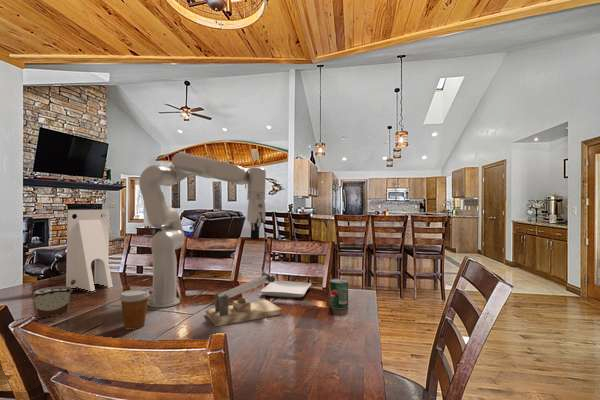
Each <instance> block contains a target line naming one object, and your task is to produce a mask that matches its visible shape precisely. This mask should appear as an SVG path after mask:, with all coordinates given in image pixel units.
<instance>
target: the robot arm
mask: <svg viewBox="0 0 600 400" xmlns="http://www.w3.org/2000/svg"><path fill="white" fill-rule="evenodd" d="M190 176H197V177H202V178H206V179H215V180H219V181H223V182H228V183H232V184H235V185H240V186H241V185H242V186H243V185H244V186H245V185H247V195H246V196H247V198H246V199H247V200H248V202H247V211H246V213H247V218H246V219H247V220H246V221H247V222H249V225H250V240H253V241H254V240H255V241H256V240H258V241H259V239H260V228H261V227H262V224H265V223H266V202H265V200H266V179H267V177H266V176H267V172H266V169H265V168H263V167H257V166H256V167H250V168H245V167H242V166H240V165H237V164H233V163H228V162H225V161H220V160H216V159H213V158H209V157H203V156H199V155H195V154H192V153H186V152H177V153H175V154H174V155H173V156H172V159H171V165H169V166H168V167H167V166H164V165H160V164H153V165H149V166H147V167H146V168H145V169H144V170H143V171H142V172H141V174H140V177H139V180H138V186H139V189H140V194H141V197H142V199H143V205H144V208H145V212H146V215H147V216H146V217H147V219H148V220H147V221H148V222H149V225H150V226H151V227H152V228H155V229H161V230H160V231H158V232H156V233H155V234H154V236H152V238H151V240H150V241H151V243H150V247H151V248H150V249H151V254H152V292H151V293H150V296H149V298H148V304H147V306H149V307H150V308H157V309H158V308H159V309H161V308H169V307H172V306H177V305H178V304H180V303H181V299H180V298H179V297H177V276H178V275H177V272H178V269H177V267H178V266H177V265H178V261H177V255H176V250H178V249H180V248H182V247H183V246H184V243H185V240H186V237H185V232H184V229H183V225H182V224H183V223H182V220H181V217H180V214H179V213H178V211H177V209H175V208H174V207H172V206H167V201H166V199H165V195H164V193H163V190H162V189H161V186H165V187H171V186H173V185H174V186H175V185H176V184H177V183H179V182H181V181H183V180H185V179H186V178H188V177H190Z"/></svg>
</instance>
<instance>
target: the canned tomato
mask: <svg viewBox="0 0 600 400" xmlns="http://www.w3.org/2000/svg"><path fill="white" fill-rule="evenodd" d="M329 307H330V308H332V309H335V310H345V309H348V308H349V280H348V279H346V278H331V279H329Z"/></svg>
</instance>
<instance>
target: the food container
mask: <svg viewBox="0 0 600 400" xmlns="http://www.w3.org/2000/svg"><path fill="white" fill-rule="evenodd" d="M71 293H73V289H71V287H68V286H66V285H65V286H63V285H61V286H50V287H44V288H40V289H37V290H35V291H34V292H33V294H32V298H34V302H35V311H36V319H37V318H38V317H44V316H51V315H55V314H60V313H66V312H69V305H70V298H71ZM51 317H52V316H51Z"/></svg>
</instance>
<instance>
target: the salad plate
mask: <svg viewBox="0 0 600 400" xmlns="http://www.w3.org/2000/svg"><path fill="white" fill-rule="evenodd" d="M311 286H312V282H301V281H285V280H275V281H274V282H273V283H272V282H269V283H268V284H267V285H266V286H264V287H263V288H262V289H261V290H260V292H261V294H263V295H265V296H269V297H280V298H293V299H297V298H302V297H304V296H305V294H306V292H307V290H308V289H309V288H310V287H311Z"/></svg>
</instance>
